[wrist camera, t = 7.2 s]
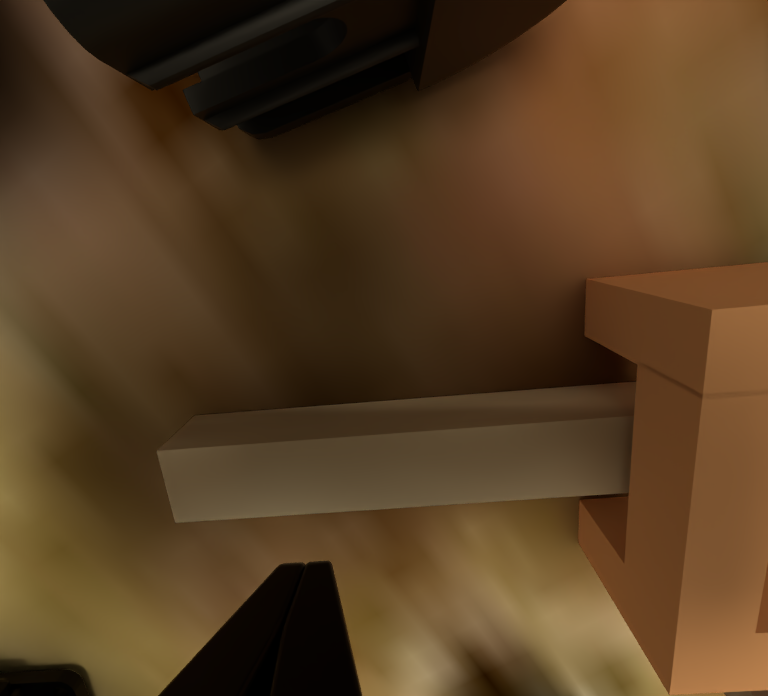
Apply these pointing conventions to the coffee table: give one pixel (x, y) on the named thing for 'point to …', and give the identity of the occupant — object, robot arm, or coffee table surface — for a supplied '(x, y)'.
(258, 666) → the robot arm
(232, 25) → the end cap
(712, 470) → the collar
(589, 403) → the rail
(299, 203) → the coffee table surface
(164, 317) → the coffee table surface
